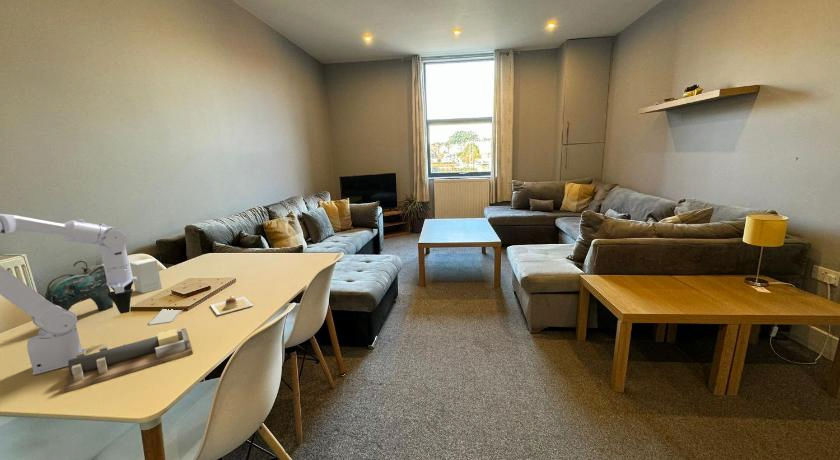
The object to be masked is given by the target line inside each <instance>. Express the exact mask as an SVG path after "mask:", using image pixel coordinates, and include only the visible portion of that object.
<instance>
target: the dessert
mask: <svg viewBox="0 0 840 460" xmlns="http://www.w3.org/2000/svg"><path fill="white" fill-rule="evenodd" d="M241 300H242V302H244V304H246V305H247V306H245V307H240V308H238V306H239V303H238V302H237V301H241ZM222 305H224V309H226V310H229V311H225V312H222V313H220V312H219V310H218V309H217V306H222ZM209 306H210V307H211V309H212V310H213V311H214V313H215V314H216V315H217V316H221V315H226V314H229V313H232V312H235V311H240V310H243V309H248V308H250V307H253V306H254V305H253V303H251V301H249V300H248V299H247V298H246V297H245V296H239V297H236V298H235V297H234V295H230V297H229V298H227V299H226V300H223V301H220V302H216V303H212V304H209ZM235 308H236V309H235ZM231 309H233V310H231Z"/></svg>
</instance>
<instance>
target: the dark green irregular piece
mask: <svg viewBox="0 0 840 460" xmlns="http://www.w3.org/2000/svg"><path fill="white" fill-rule="evenodd" d="M78 263H84V264H85V266H81V269H83V271H82V272H81V273H76V274H63V275H60V276H58V277H55V278H54V279H52V280H51V281H49V283H48V285H47V287H46V291H45V295H44V298H45V299H46V300H48V301H50V302H51V303H53V304H54V305H58V306H60V307H62V308H63V309H65V310H67V311H70V309H71V308H72V307H73V306H74V305H75V304H77V303H80V302H81V301H85V300H89V299H90V300H92V301H93V302H94V303H95V305H96V307H97V309H98V310H99V311H106V310H108V309H110V308H113V307H114V305H113V304H114V302H113V300H112V299H111V298H110V297H109V296H108V292H111V288H110V287H109V286H107V284H106V282H107V279H106V275H105V270H104V265H103V264H102V263H101V262H100V261H98V260H97V261H96V264H94V265H90V266H88V265H87V262H86V261H83V260H77V261H75V262H74V264H73V265H72V266H73V267H76V265H77V264H78ZM62 277H64V278H62ZM60 278H62V279H60ZM58 279H60V280H58ZM56 280H57V281H56ZM54 281H55V282H54ZM53 282H54V283H53ZM52 283H53V284H52ZM51 284H52V285H51Z"/></svg>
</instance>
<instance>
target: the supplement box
mask: <svg viewBox="0 0 840 460" xmlns="http://www.w3.org/2000/svg"><path fill="white" fill-rule="evenodd" d="M129 266H130V272H131V277H137V280H134V281H133V285H134V290H135V292H138V293H141V294H145V293H150V292H152V291H156V290H160V289H162V281H161V277H160V271H159V265H158V260H156V259H152V258H150V257H149V258H145V259H141V260H135V261H131V262H130V263H129Z"/></svg>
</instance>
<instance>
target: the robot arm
mask: <svg viewBox="0 0 840 460" xmlns="http://www.w3.org/2000/svg"><path fill="white" fill-rule="evenodd" d="M17 231H24V232H34V233H40V234H50V235H58V236H60V237H61V238H62V239H63V240H64V241H65V242H73V243H81V244H89V245H99V249H100V250H99V251H100V254H101V255H100V256H101V260H102V265H103V266H104V270H105V275H106V279H107V282H106V284H107V286H108V287H109V288H110V289H112V290H113V291H110V292H108V296H109V297H110V298H111V299H112V303H113V304H115V306H116V309H117V311H118V312H119V314H120V315H123V314H128V313H130V311H131V310H130V309H131V299H132V298H131V296H132V293H133V291H134V289H133V288H132V286H133V285H134V280H137V277H133V276H132V271H131V266H130V263H129V257H128V252H127V248H126V243H127V242H128V240H129V239H128V237H129V235H127V234H126V232H125V231H124V230H123V229H122V228H119V227H115V226H109V225H106V224H105V223H99V224H95V223H92V222H85V220H84V219H81V218H80V219H79V218H77V219H76V220H73V219H72V220H68V221H67V222H64V223H59V222H55V221H54V222H53V221H49V220H43V219H37V218H33V217H27V216H22V215H16V214H7V213H0V234H5V235H8V234H11V233H15V232H17ZM0 296H1V297H3V298H4V299H5V300H7V301H8V302H10V303H11V304H13V305H15V306H16V307H17V308H19V309H20V310H22V311H23V312H24V313H25V314H27V315H28V316H29V317H30V318H31V319H32V324H34V325H35V326H36V327H39V328H40V329H39V331H38V333H37V335H36V336H33V337H30V338H28V339H27V344H26V345H27V346H26V347H27V353H28V357H29V361H30V364H31V369H32V371H33V372H32V375H33V376H35V375H40V374H43V373H46V372H50V371H54V370H57V369H60V368H65V367H68V361H69V360H71V359H74V358H76V354H77V353H80V352H83V351H85V355H87V354H86V353H87V349H86V348H84V349H82V344H81V340H80V335H79V331H78V327H77V323H78V317H77V315H76V313H74V312H73V311H71V310H69V311H67V310H65V309H63V308H62V307H60V306H58V305H54V304H53V303H51V302H50V301H48V300H46V299H45V296H42V295H41V294H40V293H38V292H37V291H36V290H34V289H33V288H32V287H30V286H29V285H27V284H26V283H25V282H23V281H22V280H21V279H19V278H18V277H17V276H15V275H14V274H12V273H11V272H10V271H9V270H8V269H6V268H4V267H3V266H2V265H0Z"/></svg>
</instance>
